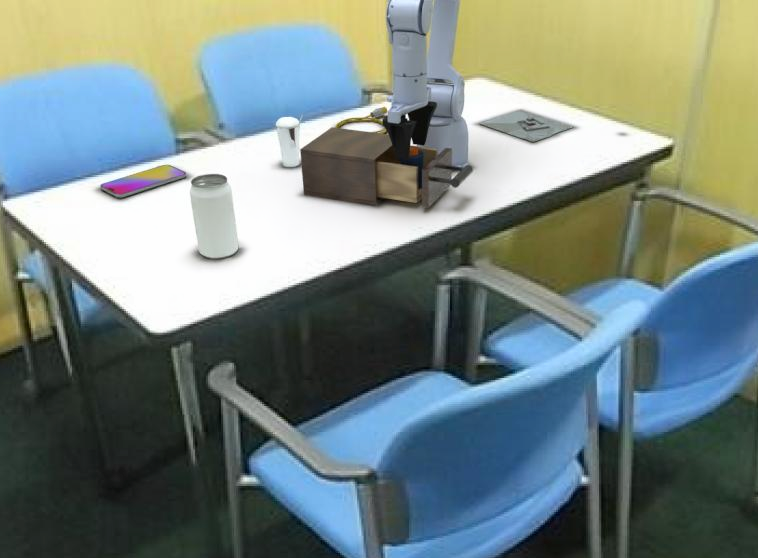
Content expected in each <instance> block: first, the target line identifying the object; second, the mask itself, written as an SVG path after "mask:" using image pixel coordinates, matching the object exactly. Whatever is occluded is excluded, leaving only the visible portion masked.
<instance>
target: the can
mask: <svg viewBox="0 0 758 558" xmlns="http://www.w3.org/2000/svg"><path fill="white" fill-rule="evenodd" d="M190 184H191V186H190V189H189V198H190V205H191V210H192V217H193V223H194V230H195V235H196V242H197V248H198V253H199V254H201V256H203V257H204V258H207V259H212V260H218V259H225V258H228V257H231V256H233V255H235V254H236V253H237V251H238V250H239V238H238V237H239V236H238V229H237V221H236V214H235V207H234V200H233V199H234V198H233V192H232V187H231V185H230V183H229V181H228V177H227V176H225V175H223V174H220V173H205V174H204V173H203V174H200V175H197V176H195V177H193V178H192V179H191V180H190Z"/></svg>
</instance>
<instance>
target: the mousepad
mask: <svg viewBox="0 0 758 558" xmlns="http://www.w3.org/2000/svg"><path fill="white" fill-rule="evenodd" d="M478 124H479V125H482V126H485V127H488V128H490V129H494V130H497V131H499V132H503V133H505V134H508V135H511V136H513V137H517V138H520V139H523V140H526V141H528V142H532V143H534V142H537V141H541V140H543V139H545V138H546V139H547V138H549V137H552V136H555V135H556V134H557V133H560V132H563V131H565V130H569V129H572V128H574V126H573V125H569V124H565V123H562V122H560V121H557V120H553V119H550V118H547V117H543V116H541V115H537V114H534V113H531V112H528V111H524V110H522V109H520V110H517V111H513V112H509V113H506V114H504V115H500V116H498V117H493V118H491V119H489V120H485V121H481V122H479V123H478Z"/></svg>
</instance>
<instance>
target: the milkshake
mask: <svg viewBox="0 0 758 558" xmlns="http://www.w3.org/2000/svg"><path fill="white" fill-rule="evenodd" d="M302 118H303V113H301V116H300V119H297V118H296V117H293V116H282V117H280V118H279V119H278V120H277V121H276V122H275V129H276V133H277V138H278V143H279V148H280V155H281V160H282V165H283V167H284V168H285V167H286V168H297V167H298V166H300V129H301V127H300V125H301V120H302Z"/></svg>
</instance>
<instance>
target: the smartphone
mask: <svg viewBox="0 0 758 558" xmlns="http://www.w3.org/2000/svg"><path fill="white" fill-rule="evenodd" d="M186 177H187V172H186V171H184V170H182V169H179V168H178V167H175V166H173V165H170V164H162V165H159V166H157V167H152V168H150V169H149V168H148V169H146V170H142V171H140V172H139V171H138V172H136V173H133V174H130V175H126V176H123V177H120V178H117V179H114V180H109V181H107V182H104V183H101V184H100V190H102V191H104V192H106V193H108V194H110V195H112V196H113V197H115V198H125V197H129V196H132V195H135V194H138V193H140V192H144V191H147V190H150V189H153V188H156V187H159V186H163V185H165V184H169V183H171V182H175V181H178V180H182V179H184V178H186Z"/></svg>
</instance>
